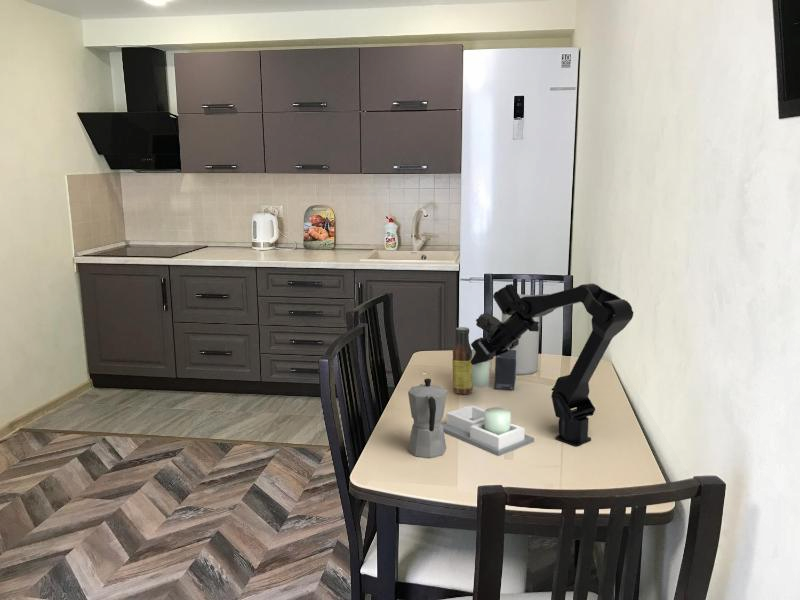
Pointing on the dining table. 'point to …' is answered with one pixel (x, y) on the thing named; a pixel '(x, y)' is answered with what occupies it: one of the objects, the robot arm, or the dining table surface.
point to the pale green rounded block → (480, 373)
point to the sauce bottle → (462, 362)
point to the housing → (486, 429)
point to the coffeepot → (427, 420)
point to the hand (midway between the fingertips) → (476, 361)
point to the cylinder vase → (526, 349)
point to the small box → (505, 370)
